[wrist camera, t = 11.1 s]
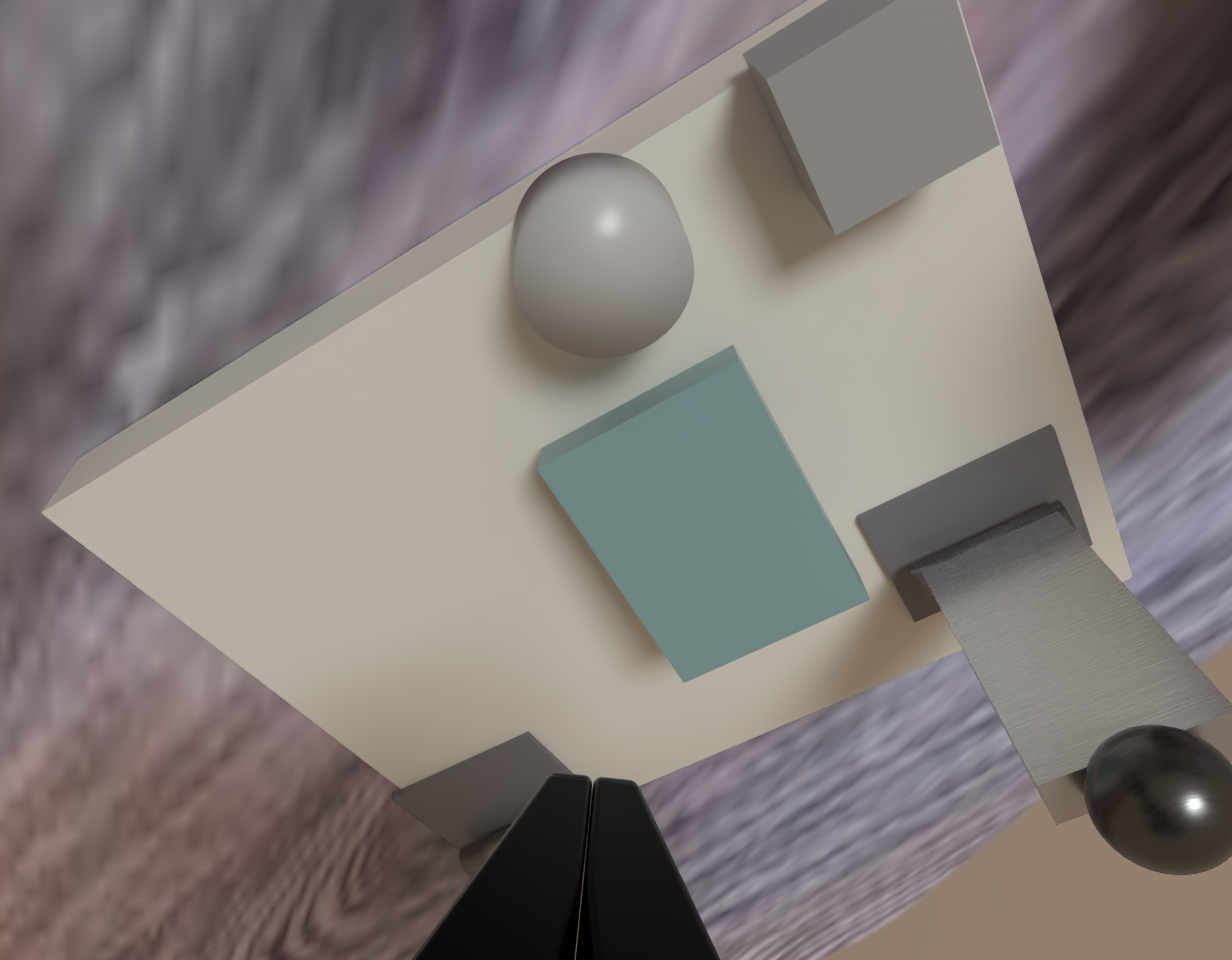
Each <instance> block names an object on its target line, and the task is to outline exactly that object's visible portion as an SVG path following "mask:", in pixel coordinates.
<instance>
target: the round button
mask: <svg viewBox="0 0 1232 960" xmlns="http://www.w3.org/2000/svg"><path fill="white" fill-rule="evenodd" d="M693 281H694V260H693V253H692V250H691V246H690V243H689V240H688V238H687V235H686V233H685V230H684V228H683V225H682V223H681V220H680V218H679V215H678V213H677V210H676V208H675V205H674V203H673V201H672V199H671V196H670V194H669V193H668V191H667V190H666V188H665V186H664V185H663V184H662V183H661V181H660V180H659V179H658V178H657V177H656V176H655V175H654V174H653V173H652V172H651V171H649V170H648V169H647V168H645V167H644V166H642V165H641V164H639V163H637V162H635V161H633V160H631V159H629V158H626V157H623V156H620V155H615V154H610V153H585V154H580V155H576V156H572V157H569V158H567V159H564V160H562V161H560V162H558V163H556V164H554V165H552V166H551V167H550V168H548V169H547V170H545V171H544V172H543V173H542V174H541V175H540V176H539V177H537V178H536V179H535V180H534V182H533V183H532V184H531V185H530V187H529V188H528V189H527V191H526V193H525V194H524V196H523V198H522V200H521V202H520V204H519V207H518V209H517V213H516V216H515V221H514V229H513V285H514V292H515V296H516V299H517V303H518V305H519V307H520V309H521V312H522V314H523V315H524V317H525V318H526V320H527V322H528V323H529V324H530V326H531V327H532V328H533V329H534V330H535V331H536V332H537V333H538V334H539V335H540V336H541V337H542V338H543V339H545V340H546V341H547V342H549V343H550V344H552V345H553V346H555V347H557V348H559V349H561V350H563V351H565V352H568V353H571V354H574V355H578V356H582V357H588V358H614V357H620V356H624V355H628V354H631V353H634V352H637V351H639V350H641V349H643V348H645V347H648V346H649V345H651V344H652V343H654V342H655V341H657V340H658V339H660V338H661V337H662V336H663V335H664V334H666V333H667V332H668V331H669V330H670V329H671V328H672V327H673V325H674V324H675V323H676V322H677V320H678V319H679V318H680V316H681V314H682V313H683V311H684V309H685V307H686V305H687V303H688V300H689V298H690V295H691V291H692V287H693Z"/></svg>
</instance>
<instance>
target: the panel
mask: <svg viewBox="0 0 1232 960" xmlns="http://www.w3.org/2000/svg"><path fill="white" fill-rule="evenodd" d="M826 1H828V0H807V1H806V2H804V3H803V4H801V5H799V6H798V7H796V8H795V9H793V10H791V11H790V12H788V13H787V14H785V15H784V16H782V17H780V18H779V19H777V20H776V21H774V22H772V23H771V24H769V25H768V26H766V27H764V28H763V29H761V30H760V31H758V32H756V33H755V34H753V35H752V36H750V37H749V38H747V39H745V40H744V41H742V42H741V43H739V44H737V45H736V46H734V47H733V48H731V49H729V50H728V51H726V52H725V53H723V54H721V55H720V56H718V57H717V58H715V59H713V60H712V61H710V62H709V63H707V64H706V65H704V66H702V67H701V68H699V69H698V70H696V71H694V72H693V73H691V74H690V75H688V76H686V77H685V78H683V79H682V80H680V81H678V82H677V83H675V84H674V85H672V86H671V87H669V88H667V89H666V90H664V91H663V92H661V93H659V94H658V95H656V96H655V97H653V98H651V99H650V100H648V101H647V102H645V103H643V104H642V105H640V106H639V107H637V108H635V109H634V110H632V111H631V112H629V113H628V114H626V115H624V116H623V117H621V118H620V119H618V120H616V121H615V122H613V123H612V124H610V125H608V126H607V127H605V128H604V129H602V130H600V131H599V132H597V133H596V134H594V135H593V136H591V137H589V138H588V139H586V140H585V141H583V142H581V143H580V144H578V145H577V146H575V147H573V148H572V149H570V150H569V151H567V152H565V153H564V154H562V155H561V156H559V157H558V158H556V159H554V160H553V161H551V162H550V163H548V164H546V165H545V166H543V167H542V168H540V169H538V170H537V171H535V172H534V173H532V174H530V175H529V176H527V177H526V178H524V179H522V180H521V181H519V182H518V183H516V184H515V185H513V186H511V187H510V188H508V189H507V190H505V191H503V192H502V193H500V194H499V195H497V196H495V197H494V198H492V199H491V200H489V201H487V202H486V203H484V204H483V205H481V206H480V207H478V208H476V209H475V210H473V211H472V212H470V213H468V214H467V215H465V216H464V217H462V218H460V219H459V220H457V221H456V222H454V223H452V224H451V225H449V226H448V227H446V228H444V229H443V230H441V231H440V232H438V233H437V234H435V235H433V236H432V237H430V238H429V239H427V240H425V241H424V242H422V243H421V244H419V245H417V246H416V247H414V248H413V249H411V250H409V251H408V252H406V253H405V254H403V255H402V256H400V257H398V258H397V259H395V260H394V261H392V262H390V263H389V264H387V265H386V266H384V267H382V268H381V269H379V270H378V271H376V272H374V273H373V274H371V275H370V276H368V277H366V278H365V279H363V280H362V281H360V282H359V283H357V284H355V285H354V286H352V287H351V288H349V289H347V290H346V291H344V292H343V293H341V294H339V295H338V296H336V297H335V298H333V299H331V300H330V301H328V302H327V303H325V304H324V305H322V306H320V307H319V308H317V309H316V310H314V311H312V312H311V313H309V314H308V315H306V316H304V317H303V318H301V319H300V320H298V321H296V322H295V323H293V324H292V325H290V326H289V327H287V328H285V329H284V330H282V331H281V332H279V333H277V334H276V335H274V336H273V337H271V338H269V339H268V340H266V341H265V342H263V343H261V344H260V345H258V346H257V347H255V348H253V349H252V350H250V351H249V352H247V353H246V354H244V355H242V356H241V357H239V358H238V359H236V360H234V361H233V362H231V363H230V364H228V365H226V366H225V367H223V368H222V369H220V370H218V371H217V372H215V373H214V374H212V375H211V376H209V377H207V378H206V379H204V380H203V381H201V382H199V383H198V384H196V385H195V386H193V387H191V388H190V389H188V390H187V391H185V392H183V393H182V394H180V395H179V396H177V397H175V398H174V399H172V400H171V401H169V402H168V403H166V404H164V405H163V406H161V407H160V408H158V409H156V410H155V411H153V412H152V413H150V414H148V415H147V416H145V417H144V418H142V419H140V420H139V421H137V422H136V423H134V424H133V425H131V426H129V427H128V428H126V429H125V430H123V431H121V432H120V433H118V434H117V435H115V436H113V437H112V438H110V439H109V440H107V441H105V442H104V443H102V444H101V445H99V446H98V447H96V448H94V449H93V450H91V451H90V452H88V453H86V454H85V455H83V456H82V457H80V458H78V460H77V461H76V463H75V464H74V466H73V467H72V469H71V470H70V471H69V473H68V474H67V476H66V477H65V479H64V480H63V482H62V483H61V485H60V486H59V488H58V489H57V490H56V492H55V493H54V495H53V496H52V498H51V499H50V501H49V502H48V504H47V505H46V507H45V508H44V509H43V511H42V512H41V513H42V514H43V515H44V516H46V517H47V518H48V519H50V520H51V521H52V522H53V523H55V524H56V525H57V526H59V527H60V528H61V529H63V530H64V531H65V532H67V533H68V534H69V535H70V536H72V537H73V538H74V539H76V540H77V541H78V542H80V543H81V544H82V545H83V546H85V547H86V548H87V549H89V550H90V551H91V552H93V553H94V554H95V555H96V556H98V557H99V558H100V559H102V560H103V561H104V562H106V563H107V564H108V565H109V566H111V567H112V568H113V569H115V570H116V571H117V572H119V573H120V574H121V575H123V576H124V577H125V578H126V579H128V580H129V581H130V582H132V583H133V584H134V585H136V586H137V587H138V588H139V589H141V590H142V591H143V592H145V593H146V594H147V595H149V596H150V597H151V598H152V599H154V600H155V601H156V602H158V603H159V604H160V605H162V606H163V607H164V608H165V609H167V610H168V611H169V612H171V613H172V614H173V615H175V616H176V617H177V618H179V619H180V620H181V621H182V622H184V623H185V624H186V625H188V626H189V627H190V628H192V629H193V630H194V631H195V632H197V633H198V634H199V635H201V636H202V637H203V638H205V639H206V640H207V641H208V642H210V643H211V644H212V645H214V646H215V647H216V648H218V649H219V650H220V651H221V652H223V653H224V654H225V655H227V656H228V657H229V658H231V659H232V660H233V661H234V662H236V663H237V664H238V665H240V666H241V667H242V668H244V669H245V670H246V671H248V672H249V673H250V674H251V675H253V676H254V677H255V678H257V679H258V680H259V681H261V682H262V683H263V684H264V685H266V686H267V687H268V688H270V689H271V690H272V691H274V692H275V693H276V694H277V695H279V696H280V697H281V698H283V699H284V700H285V701H287V702H288V703H289V704H290V705H292V706H293V707H294V708H296V709H297V710H298V711H300V712H301V713H302V714H304V715H305V716H306V717H307V718H309V719H310V720H311V721H313V722H314V723H315V724H317V725H318V726H319V727H320V728H322V729H323V730H324V731H326V732H327V733H328V734H330V735H331V736H332V737H333V738H335V739H336V740H337V741H339V742H340V743H341V744H343V745H344V746H345V747H346V748H348V749H349V750H350V751H352V752H353V753H354V754H356V755H357V756H358V757H360V758H361V759H362V760H363V761H365V762H366V763H367V764H369V765H370V766H371V767H373V768H374V769H375V770H376V771H378V772H379V773H380V774H382V775H383V776H384V777H386V778H387V779H388V780H389V781H391V782H392V783H393V784H395V785H396V786H397V787H399V788H400V790H398V791H396V792H394V793H392V800H393V801H394V802H396V803H397V804H398V805H400V806H401V807H402V808H404V809H405V810H406V811H408V812H409V813H410V814H412V815H413V816H414V817H416V818H417V819H418V820H420V821H421V822H422V823H424V824H425V825H426V826H428V827H429V828H430V829H432V830H433V831H434V832H436V833H437V834H438V835H440V836H441V837H442V838H444V839H445V840H446V841H448V842H449V843H450V844H452V845H453V846H454V847H456V848H457V849H458V850H461V848H462V847H463V846H465V845H468V844H470V843H472V842H475V841H477V840H479V839H482V838H484V837H486V836H489V835H491V834H493V833H496V832H498V831H500V830H503V829H505V828H507V827H510V826H511V825H512V824H513V822H514V821H515V820H516V818H517V817H518V815H519V814H520V813H521V811H522V810H523V809H524V807H525V806H526V805H527V803H528V802H529V801H530V799H531V798H532V797H533V795H534V794H535V792H536V791H537V790H538V788H539V787H540V786H541V784H542V783H543V782H544V780H545V779H546V778H547V777H548V776H549V775H550V774H552V773H557V772H558V773H568V774H577V775H586V776H588V777H589V778H591V780H592V789H593V783H594V781H595V780H596V779H597V778H599V777H607V778H616V779H626V780H632V781H634V782H635V783H637V785H638V786H641V785H643V784H645V783H648V782H650V781H652V780H655V779H657V778H660V777H662V776H664V775H667V774H669V773H671V772H674V771H676V770H678V769H681V768H683V767H686V766H688V765H690V764H693V763H695V762H697V761H700V760H702V759H704V758H707V757H709V756H712V755H714V754H716V753H719V752H721V751H723V750H726V749H728V748H730V747H733V746H735V745H738V744H740V743H742V742H745V741H747V740H749V739H752V738H754V737H756V736H759V735H761V734H764V733H766V732H768V731H771V730H773V729H775V728H778V727H780V726H782V725H785V724H787V723H790V722H792V721H794V720H797V719H799V718H801V717H804V716H806V715H808V714H811V713H813V712H816V711H818V710H820V709H823V708H825V707H827V706H830V705H832V704H835V703H837V702H839V701H842V700H844V699H846V698H849V697H851V696H853V695H856V694H858V693H861V692H863V691H865V690H868V689H870V688H872V687H875V686H877V685H879V684H882V683H884V682H887V681H889V680H891V679H894V678H896V677H898V676H901V675H903V674H905V673H908V672H910V671H913V670H915V669H917V668H920V667H922V666H924V665H927V664H929V663H931V662H934V661H936V660H939V659H941V658H943V657H946V656H948V655H950V654H953V653H955V652H957V651H960V650H962V648H961V646H960V644H959V642H958V641H957V639H956V637H955V635H954V633H953V631H952V629H951V628H950V626H949V624H948V622H947V620H946V618H945V616H944V615H943V613H942V611H941V609H940V607H939V605H938V603H937V601H936V599H935V598H934V596H933V595H931V596H928V597H926V598H925V597H924V596H923V594H922V592H921V590H920V588H919V586H918V584H917V582H916V580H915V578H914V576H913V574H912V572H911V570H910V569H909V567H910V566H912V565H914V564H917V563H919V562H921V561H923V560H925V559H928V558H930V557H932V556H934V555H936V554H939V553H941V552H943V551H945V550H947V549H950V548H952V547H954V546H956V545H959V544H961V543H963V542H965V541H967V540H970V539H972V538H974V537H976V536H978V535H981V534H983V533H985V532H987V531H989V530H992V529H994V528H996V527H998V526H1001V525H1003V524H1005V523H1007V522H1009V521H1012V520H1014V519H1016V518H1018V517H1020V516H1023V515H1025V514H1027V513H1029V512H1031V511H1034V510H1036V509H1038V508H1040V507H1043V506H1045V505H1047V504H1049V503H1051V502H1054V501H1056V500H1059V501H1060V502H1061V503H1062V504H1063V506H1064V507H1065V508H1066V510H1067V512H1068V513H1069V515H1070V517H1071V519H1072V521H1073V523H1074V525H1075V528H1076V531H1077V533H1078V534H1079V535H1080V536H1081V537H1082V538H1083V539H1084V540H1085V541H1086V543H1087V544H1088V545H1089V546H1090V547H1091V548H1092V549H1093V550H1094V551H1095V553H1096V554H1097V555H1098V556H1099V557H1100V558H1101V559H1102V560H1103V561H1104V563H1105V564H1106V565H1107V566H1108V567H1109V568H1110V569H1111V570H1112V571H1113V573H1114V574H1115V575H1116V576H1117V577H1118V578H1119V579H1120V580H1121V581H1122V582H1123V581H1125V580H1128V579H1130V578H1132V574H1131V571H1130V567H1129V564H1128V561H1127V557H1126V554H1125V551H1124V547H1123V544H1122V541H1121V537H1120V534H1119V531H1118V528H1117V524H1116V521H1115V518H1114V514H1113V511H1112V508H1111V504H1110V501H1109V498H1108V494H1107V491H1106V488H1105V484H1104V481H1103V478H1102V475H1101V471H1100V468H1099V465H1098V461H1097V458H1096V455H1095V451H1094V448H1093V445H1092V441H1091V438H1090V435H1089V431H1088V428H1087V425H1086V422H1085V418H1084V415H1083V412H1082V408H1081V405H1080V402H1079V398H1078V395H1077V392H1076V388H1075V385H1074V382H1073V378H1072V375H1071V372H1070V369H1069V365H1068V362H1067V359H1066V355H1065V352H1064V349H1063V345H1062V342H1061V339H1060V335H1059V332H1058V329H1057V325H1056V322H1055V319H1054V316H1053V312H1052V309H1051V306H1050V302H1049V299H1048V296H1047V292H1046V289H1045V286H1044V282H1043V279H1042V276H1041V272H1040V269H1039V266H1038V263H1037V259H1036V256H1035V253H1034V249H1033V246H1032V243H1031V239H1030V236H1029V233H1028V229H1027V226H1026V223H1025V219H1024V216H1023V213H1022V209H1021V206H1020V203H1019V200H1018V196H1017V193H1016V190H1015V186H1014V183H1013V180H1012V176H1011V173H1010V170H1009V166H1008V163H1007V160H1006V156H1005V153H1004V150H1003V147H1002V143H1001V140H1000V137H999V133H998V130H997V127H996V123H995V120H994V117H993V113H992V110H991V107H990V103H989V100H988V97H987V94H986V90H985V87H984V84H983V80H982V77H981V74H980V70H979V67H978V64H977V60H976V57H975V54H974V50H973V47H972V44H971V41H970V37H969V34H968V31H967V27H966V24H965V21H964V17H963V14H962V11H961V7H960V4H959V1H958V0H957V3H958V7H959V10H960V13H961V17H962V20H963V23H964V27H965V30H966V33H967V36H968V40H969V43H970V46H971V50H972V53H973V56H974V60H975V63H976V66H977V69H978V73H979V76H980V79H981V83H982V86H983V89H984V93H985V96H986V99H987V102H988V106H989V109H990V112H991V116H992V119H993V122H994V126H995V129H996V132H997V135H998V139H999V142H1000V145H998V146H997V147H995V148H993V149H991V150H989V151H988V152H986V153H984V154H982V155H980V156H979V157H977V158H975V159H973V160H971V161H970V162H968V163H966V164H964V165H963V166H961V167H959V168H957V169H955V170H954V171H952V172H950V173H948V174H946V175H945V176H943V177H941V178H939V179H937V180H936V181H934V182H932V183H930V184H928V185H927V186H925V187H923V188H921V189H919V190H918V191H916V192H914V193H912V194H910V195H909V196H907V197H905V198H903V199H901V200H900V201H898V202H896V203H894V204H892V205H891V206H889V207H887V208H885V209H883V210H882V211H880V212H878V213H876V214H874V215H873V216H871V217H869V218H867V219H865V220H864V221H862V222H860V223H858V224H856V225H855V226H853V227H851V228H849V229H847V230H846V231H844V232H842V233H840V234H838V235H837V236H836V235H835V234H834V233H833V231H832V230H831V229H830V227H829V226H828V225H827V223H826V222H825V221H824V219H823V218H822V217H821V216H820V214H819V213H818V212H817V210H816V209H815V208H814V206H813V205H812V204H811V202H810V201H809V200H808V198H807V196H806V194H805V192H804V189H803V187H802V185H801V183H800V181H799V178H798V176H797V174H796V172H795V170H794V167H793V165H792V163H791V161H790V158H789V156H788V154H787V152H786V150H785V147H784V145H783V143H782V141H781V139H780V136H779V134H778V132H777V130H776V128H775V125H774V123H773V121H772V119H771V117H770V114H769V112H768V110H767V108H766V106H765V103H764V101H763V99H762V97H761V95H760V92H759V90H758V88H757V86H756V84H755V81H754V79H753V77H752V75H751V73H750V70H749V68H748V66H747V64H746V62H745V59H744V57H743V55H742V54H743V53H744V52H746V51H748V50H749V49H751V48H752V47H754V46H756V45H757V44H759V43H760V42H762V41H764V40H765V39H767V38H768V37H770V36H772V35H773V34H775V33H776V32H778V31H780V30H781V29H783V28H784V27H786V26H788V25H789V24H791V23H792V22H794V21H796V20H797V19H799V18H800V17H802V16H804V15H805V14H807V13H808V12H810V11H812V10H813V9H815V8H816V7H818V6H820V5H821V4H823V3H824V2H826ZM585 153H610V154H615V155H620V156H623V157H626V158H629V159H631V160H633V161H635V162H637V163H639V164H641V165H642V166H644V167H645V168H647V169H648V170H649V171H651V172H652V173H653V174H654V175H655V176H656V177H657V178H658V179H659V180H660V181H661V183H662V184H663V185H664V186H665V188H666V190H667V191H668V193H669V194H670V196H671V199H672V201H673V203H674V205H675V208H676V210H677V213H678V215H679V218H680V220H681V223H682V225H683V228H684V230H685V233H686V235H687V238H688V240H689V243H690V246H691V250H692V253H693V260H694V281H693V287H692V291H691V295H690V298H689V300H688V303H687V305H686V307H685V309H684V311H683V313H682V314H681V316H680V318H679V319H678V320H677V322H676V323H675V324H674V325H673V327H672V328H671V329H670V330H669V331H668V332H667V333H666V334H664V335H663V336H662V337H661V338H660V339H658V340H657V341H655V342H654V343H652V344H651V345H649V346H648V347H645V348H643V349H641V350H639V351H637V352H634V353H631V354H628V355H624V356H620V357H614V358H588V357H582V356H578V355H574V354H571V353H568V352H565V351H563V350H561V349H559V348H557V347H555V346H553V345H552V344H550V343H549V342H547V341H546V340H545V339H543V338H542V337H541V336H540V335H539V334H538V333H537V332H536V331H535V330H534V329H533V328H532V327H531V326H530V324H529V323H528V322H527V320H526V318H525V317H524V315H523V314H522V312H521V309H520V307H519V305H518V303H517V299H516V296H515V292H514V285H513V229H514V221H515V216H516V213H517V209H518V207H519V204H520V202H521V200H522V198H523V196H524V194H525V193H526V191H527V189H528V188H529V187H530V185H531V184H532V183H533V182H534V180H535V179H536V178H537V177H539V176H540V175H541V174H542V173H543V172H544V171H545V170H547V169H548V168H550V167H551V166H552V165H554V164H556V163H558V162H560V161H562V160H564V159H567V158H569V157H572V156H576V155H580V154H585ZM731 345H734V347H735V348H736V350H737V352H738V354H739V356H740V358H741V359H742V361H743V363H744V365H745V367H746V369H747V370H748V372H749V374H750V376H751V378H752V379H753V381H754V383H755V385H756V387H757V389H758V390H759V392H760V394H761V396H762V398H763V400H764V401H765V403H766V405H767V407H768V409H769V410H770V412H771V414H772V416H773V418H774V420H775V421H776V423H777V425H778V427H779V429H780V431H781V432H782V434H783V436H784V438H785V440H786V441H787V443H788V445H789V447H790V449H791V451H792V452H793V454H794V456H795V458H796V460H797V462H798V463H799V465H800V467H801V469H802V471H803V473H804V474H805V476H806V478H807V480H808V482H809V483H810V485H811V487H812V489H813V491H814V493H815V494H816V496H817V498H818V500H819V502H820V504H821V505H822V507H823V509H824V511H825V513H826V514H827V516H828V518H829V520H830V522H831V524H832V525H833V527H834V529H835V531H836V533H837V535H838V536H839V538H840V540H841V542H842V544H843V545H844V547H845V549H846V551H847V553H848V555H849V556H850V558H851V560H852V562H853V564H854V566H855V567H856V569H857V571H858V573H859V575H860V577H861V580H862V582H863V584H864V587H865V589H866V591H867V594H868V596H869V599H870V600H868V601H866V602H864V603H862V604H860V605H857V606H855V607H853V608H851V609H848V610H846V611H844V612H842V613H839V614H837V615H835V616H833V617H831V618H828V619H826V620H824V621H822V622H819V623H817V624H815V625H813V626H810V627H808V628H806V629H804V630H802V631H799V632H797V633H795V634H793V635H790V636H788V637H786V638H784V639H781V640H779V641H777V642H775V643H773V644H770V645H768V646H766V647H764V648H761V649H759V650H757V651H755V652H752V653H750V654H748V655H746V656H743V657H741V658H739V659H737V660H735V661H732V662H730V663H728V664H726V665H723V666H721V667H719V668H717V669H714V670H712V671H710V672H708V673H706V674H703V675H701V676H699V677H697V678H694V679H692V680H690V681H688V682H685V683H683V681H682V680H681V678H680V677H679V675H678V674H677V673H676V671H675V670H674V668H673V667H672V665H671V664H670V662H669V661H668V659H667V658H666V657H665V655H664V654H663V652H662V651H661V649H660V648H659V646H658V645H657V643H656V642H655V641H654V639H653V638H652V636H651V635H650V633H649V632H648V630H647V629H646V627H645V626H644V625H643V623H642V622H641V620H640V619H639V617H638V616H637V614H636V613H635V611H634V610H633V608H632V607H631V606H630V604H629V603H628V601H627V600H626V598H625V597H624V595H623V594H622V592H621V591H620V590H619V588H618V587H617V585H616V584H615V582H614V581H613V579H612V578H611V576H610V575H609V574H608V572H607V571H606V569H605V568H604V566H603V565H602V563H601V562H600V560H599V559H598V558H597V556H596V555H595V553H594V552H593V550H592V549H591V547H590V546H589V544H588V543H587V541H586V540H585V539H584V537H583V536H582V534H581V533H580V531H579V530H578V528H577V527H576V525H575V524H574V523H573V521H572V520H571V518H570V517H569V515H568V514H567V512H566V511H565V509H564V508H563V507H562V505H561V504H560V502H559V501H558V499H557V498H556V496H555V495H554V493H553V492H552V491H551V489H550V488H549V486H548V485H547V483H546V482H545V480H544V479H543V477H542V476H541V474H540V473H539V472H538V470H537V465H538V461H539V457H540V452H541V448H543V447H544V446H546V445H548V444H550V443H552V442H554V441H556V440H557V439H559V438H561V437H563V436H565V435H567V434H568V433H570V432H572V431H574V430H576V429H578V428H580V427H581V426H583V425H585V424H587V423H589V422H591V421H592V420H594V419H596V418H598V417H600V416H602V415H604V414H605V413H607V412H609V411H611V410H613V409H615V408H617V407H618V406H620V405H622V404H624V403H626V402H628V401H629V400H631V399H633V398H635V397H637V396H639V395H641V394H642V393H644V392H646V391H648V390H650V389H652V388H653V387H655V386H657V385H659V384H661V383H663V382H665V381H666V380H668V379H670V378H672V377H674V376H676V375H678V374H679V373H681V372H683V371H685V370H687V369H689V368H690V367H692V366H694V365H696V364H698V363H700V362H702V361H703V360H705V359H707V358H709V357H711V356H713V355H714V354H716V353H718V352H720V351H722V350H724V349H726V348H727V347H729V346H731ZM591 799H592V793H591ZM590 809H591V803H590Z"/></svg>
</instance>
